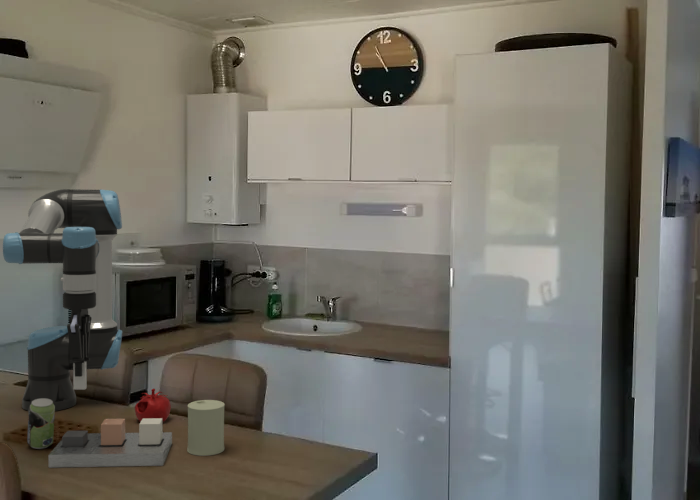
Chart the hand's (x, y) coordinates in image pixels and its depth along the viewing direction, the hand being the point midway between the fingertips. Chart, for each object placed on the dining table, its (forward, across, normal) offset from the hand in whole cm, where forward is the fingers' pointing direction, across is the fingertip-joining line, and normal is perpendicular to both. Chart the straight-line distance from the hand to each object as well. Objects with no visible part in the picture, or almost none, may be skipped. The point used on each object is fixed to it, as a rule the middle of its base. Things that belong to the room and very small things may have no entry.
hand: (80, 388), depth 184 cm
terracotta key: (+13, 0, +8) cm, 15 cm away
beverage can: (+17, -7, -11) cm, 21 cm away
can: (+17, -4, +30) cm, 34 cm away
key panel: (+17, 0, +8) cm, 18 cm away
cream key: (+13, 0, +17) cm, 21 cm away
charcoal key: (+16, 0, -1) cm, 16 cm away
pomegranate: (+17, -29, +12) cm, 36 cm away
